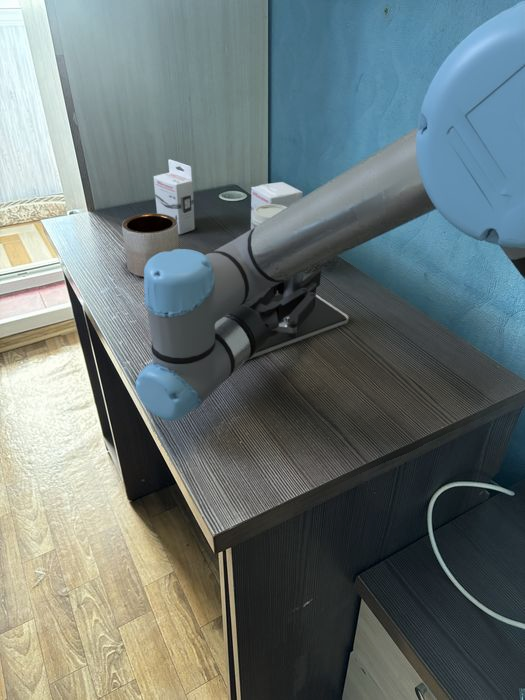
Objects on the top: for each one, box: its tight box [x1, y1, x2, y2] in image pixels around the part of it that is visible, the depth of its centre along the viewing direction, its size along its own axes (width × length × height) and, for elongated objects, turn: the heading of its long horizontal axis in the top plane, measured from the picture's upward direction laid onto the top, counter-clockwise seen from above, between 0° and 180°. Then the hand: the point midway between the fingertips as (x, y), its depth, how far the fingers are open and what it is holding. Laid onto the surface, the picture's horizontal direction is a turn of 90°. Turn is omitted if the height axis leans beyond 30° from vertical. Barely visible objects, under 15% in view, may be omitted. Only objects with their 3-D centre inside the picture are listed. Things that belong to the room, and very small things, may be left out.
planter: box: [121, 212, 181, 278], centre depth 104 cm, size 11×11×10 cm
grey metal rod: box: [283, 271, 305, 320], centre depth 84 cm, size 3×3×13 cm
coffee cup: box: [250, 204, 287, 228], centre depth 105 cm, size 9×9×12 cm
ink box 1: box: [153, 158, 196, 235], centre depth 120 cm, size 8×5×15 cm, turn 47°
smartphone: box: [247, 293, 349, 361], centre depth 89 cm, size 13×27×2 cm, turn 123°
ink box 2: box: [250, 181, 303, 230], centre depth 116 cm, size 8×8×12 cm
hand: (308, 274), depth 88 cm, fingers closed on grey metal rod, 3 cm apart
